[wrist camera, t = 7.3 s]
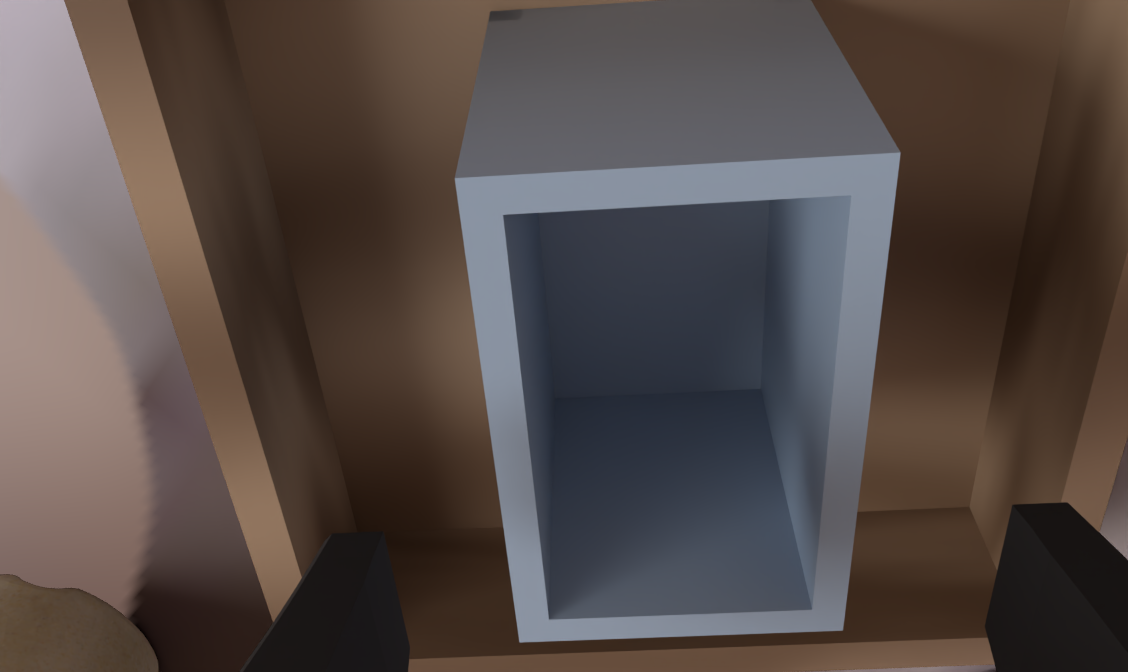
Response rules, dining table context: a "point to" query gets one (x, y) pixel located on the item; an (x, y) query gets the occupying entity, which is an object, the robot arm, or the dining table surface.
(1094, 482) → the big crate
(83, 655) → the flower pot
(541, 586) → the box
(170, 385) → the dining table surface
